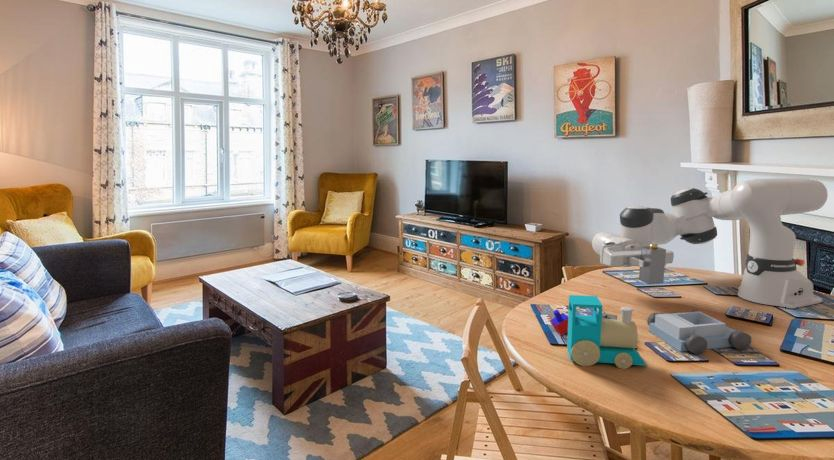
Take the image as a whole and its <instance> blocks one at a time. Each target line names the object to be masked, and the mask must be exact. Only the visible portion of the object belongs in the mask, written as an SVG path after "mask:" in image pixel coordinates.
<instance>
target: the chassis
mask: <svg viewBox="0 0 834 460" xmlns="http://www.w3.org/2000/svg"><path fill="white" fill-rule="evenodd" d="M646 321H647V326H648V332H649V333H650V334H652V335H654V336H655V337H657V338H658V339H661V341H663V342H665V343H666V344H668V345H670V346H671V347H673V348H674V349H676V350H677V351H679V352H688V351H689V352H691V353H692V354H694V355H702V354H703V353H704V352H705V351H706V350H710V349H711V350H712V349H721V348H732V347H733V348H735V349H737V350H739V351H745V350H747V349H748V348H749V347H750V346H751V344H752V337H751V335H750V334H748V333H747V332H744V331H743V330H739V329H738V330H735V329H733V328H730V327H729V326H727V325H726V324H727V323H725V322H724V321H722V320H719V319H717V318H715V317H712V316H710V315H709V314H707V313H704V312H703V311H700V310H698V309H691V310H690V311H687V312H675V313H658V312H653V313H651V314H649V316H648V317H647V320H646Z"/></svg>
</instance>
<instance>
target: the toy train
mask: <svg viewBox="0 0 834 460" xmlns="http://www.w3.org/2000/svg"><path fill="white" fill-rule="evenodd" d="M577 308H588V309H589V308H592V310H593V312H592V315H583V314H582V315H581V314H576V311H577ZM620 310H621V316H620V319H617V320H612V319H602V313H603V304H602V302H601V301H600V299H599V297H598V296H597V295H582V294H581V295H577V294H569V296H568V315H567V316H568V332H567V337H566V339H567V341H566V343H567V344H566V346H567V347H566V349H567V353H568V355H569V360H570V361H573V362H575V363H576V364H578V365H580V366H583V367H590V366H593V365H595V364H596V363H604V364H605V363H606V364H615V366H616V367H617V368H619V369H622V370H623V369H625V370H626V369H629V368H630V367H632V365H634V366H648V365H647V363H646V362H645V360H644V359H643V358H642V356H641V354H640V352H639V351H637V349H636V347H637V345H638V339H639V336H638V335H639V334H638V327H637V324H636V322H635V320H632V314H633V311H634V309H633V308H631V307H630V306H622V307H620Z"/></svg>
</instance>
